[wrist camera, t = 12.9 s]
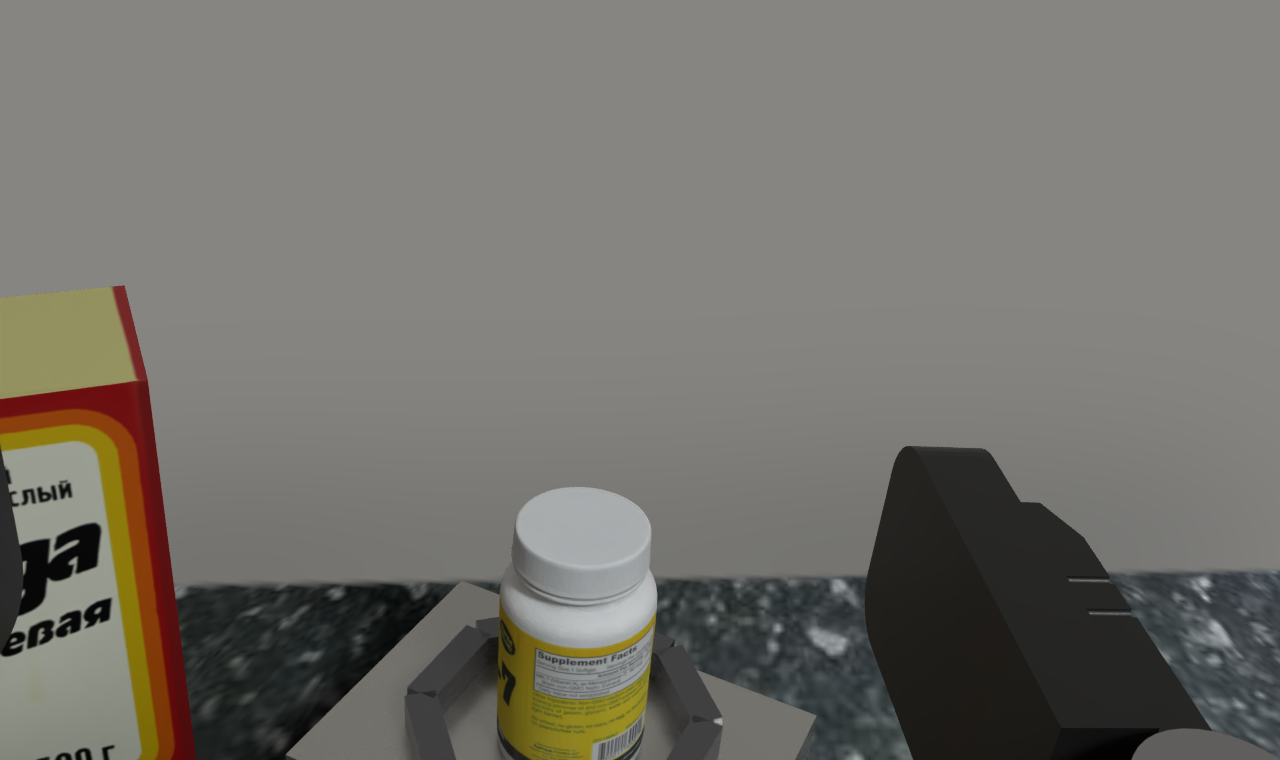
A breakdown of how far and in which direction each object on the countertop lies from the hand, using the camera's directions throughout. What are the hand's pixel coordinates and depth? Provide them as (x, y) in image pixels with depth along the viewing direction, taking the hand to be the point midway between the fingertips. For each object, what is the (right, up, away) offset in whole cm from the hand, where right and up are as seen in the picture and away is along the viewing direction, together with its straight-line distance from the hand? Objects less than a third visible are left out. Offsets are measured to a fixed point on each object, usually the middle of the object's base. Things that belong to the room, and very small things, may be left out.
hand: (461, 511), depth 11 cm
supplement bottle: (-1, -10, +28) cm, 30 cm away
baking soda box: (-19, -12, +31) cm, 38 cm away
